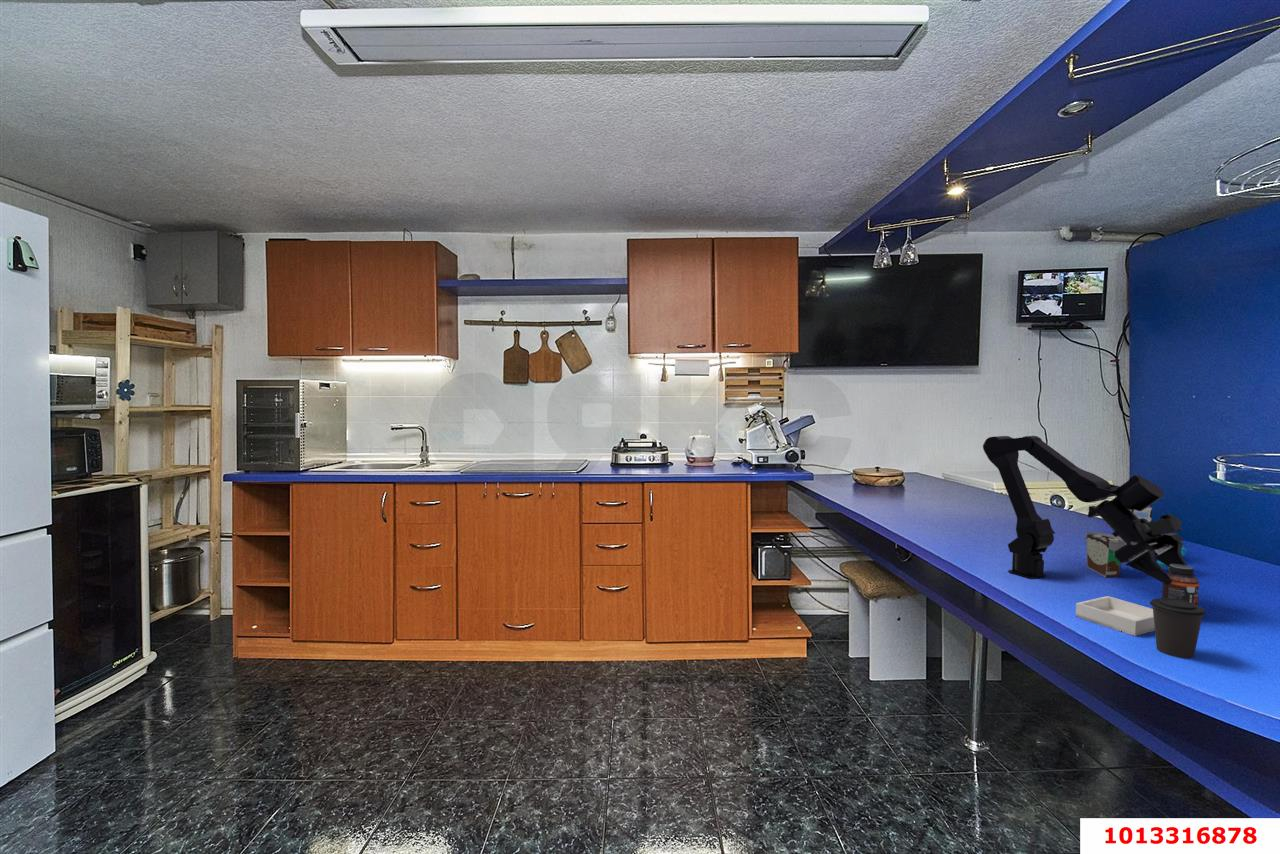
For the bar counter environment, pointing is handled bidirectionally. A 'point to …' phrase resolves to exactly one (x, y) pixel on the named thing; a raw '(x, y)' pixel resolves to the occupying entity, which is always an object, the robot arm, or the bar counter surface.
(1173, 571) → the supplement bottle
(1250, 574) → the bar counter surface
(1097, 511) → the robot arm
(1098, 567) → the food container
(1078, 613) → the tray
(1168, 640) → the coffee cup
